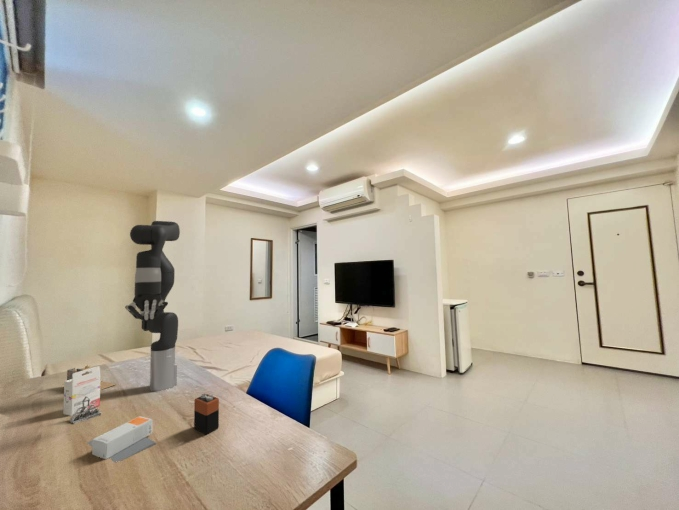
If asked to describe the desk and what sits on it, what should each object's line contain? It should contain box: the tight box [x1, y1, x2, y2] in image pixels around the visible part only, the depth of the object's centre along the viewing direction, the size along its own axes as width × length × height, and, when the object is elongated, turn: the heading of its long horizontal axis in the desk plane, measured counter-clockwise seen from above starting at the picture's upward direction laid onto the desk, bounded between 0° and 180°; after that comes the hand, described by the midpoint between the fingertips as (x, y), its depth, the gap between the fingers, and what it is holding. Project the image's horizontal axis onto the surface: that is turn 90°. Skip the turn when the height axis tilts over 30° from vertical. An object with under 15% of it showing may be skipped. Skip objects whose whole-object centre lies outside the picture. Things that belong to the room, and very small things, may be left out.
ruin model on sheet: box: [61, 364, 117, 391], centre depth 116 cm, size 25×16×10 cm, turn 68°
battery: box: [193, 393, 220, 435], centre depth 82 cm, size 4×7×10 cm, turn 58°
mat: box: [87, 436, 157, 464], centre depth 73 cm, size 13×18×1 cm
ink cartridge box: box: [62, 365, 102, 417], centre depth 95 cm, size 9×5×15 cm, turn 160°
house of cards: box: [68, 396, 102, 425], centre depth 91 cm, size 9×9×8 cm
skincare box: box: [91, 415, 153, 460], centre depth 74 cm, size 6×4×12 cm
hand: (147, 330), depth 92 cm, fingers closed
